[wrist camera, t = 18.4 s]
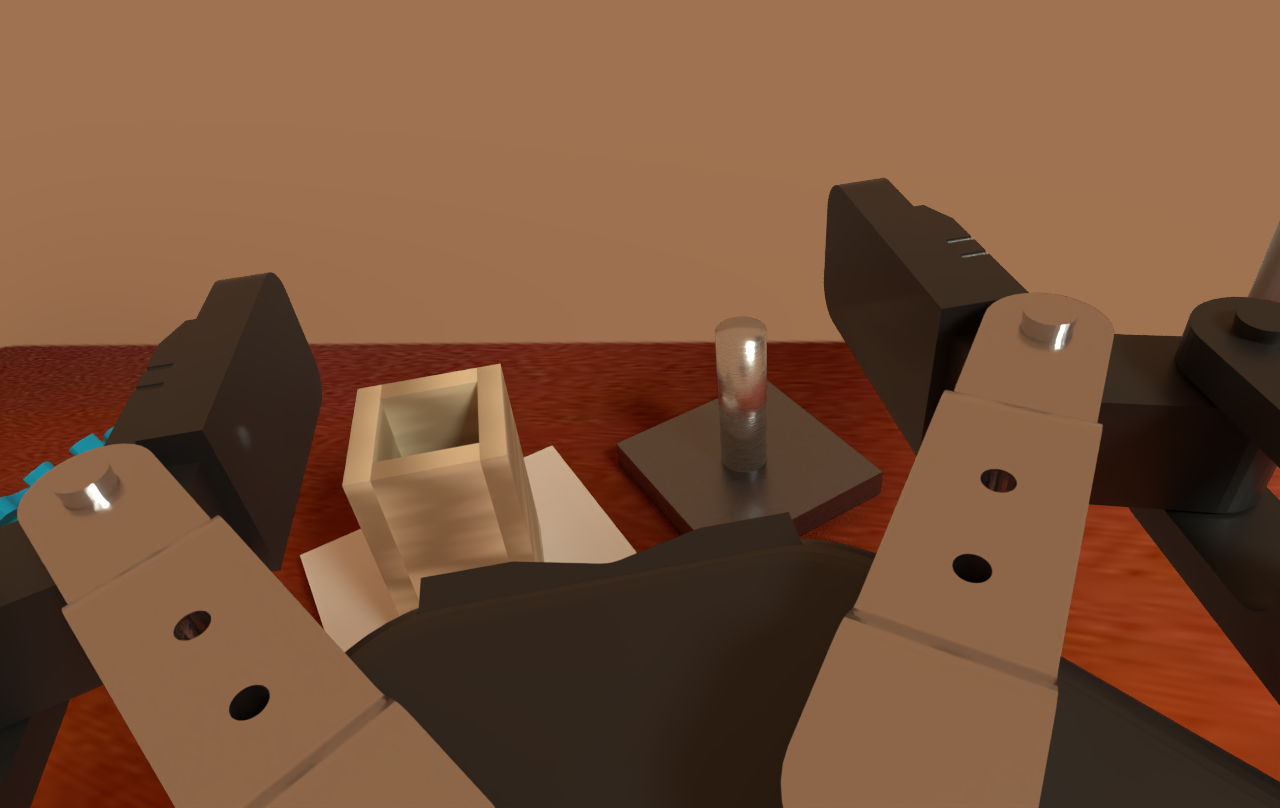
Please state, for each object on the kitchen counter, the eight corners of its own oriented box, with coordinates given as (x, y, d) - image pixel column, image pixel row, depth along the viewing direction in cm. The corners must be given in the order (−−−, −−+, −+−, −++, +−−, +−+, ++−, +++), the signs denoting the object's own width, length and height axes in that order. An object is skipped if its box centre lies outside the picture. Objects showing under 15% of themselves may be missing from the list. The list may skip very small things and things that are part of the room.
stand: (764, 397, 50) (763, 257, 44) (880, 492, 43) (897, 340, 37) (619, 463, 47) (597, 321, 41) (719, 579, 40) (711, 426, 34)
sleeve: (540, 526, 41) (500, 363, 35) (550, 623, 37) (506, 455, 31) (419, 550, 41) (357, 389, 35) (414, 651, 36) (342, 485, 30)
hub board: (556, 465, 47) (533, 357, 42) (689, 637, 37) (678, 521, 33) (310, 575, 42) (253, 466, 38) (386, 806, 32) (323, 698, 28)
